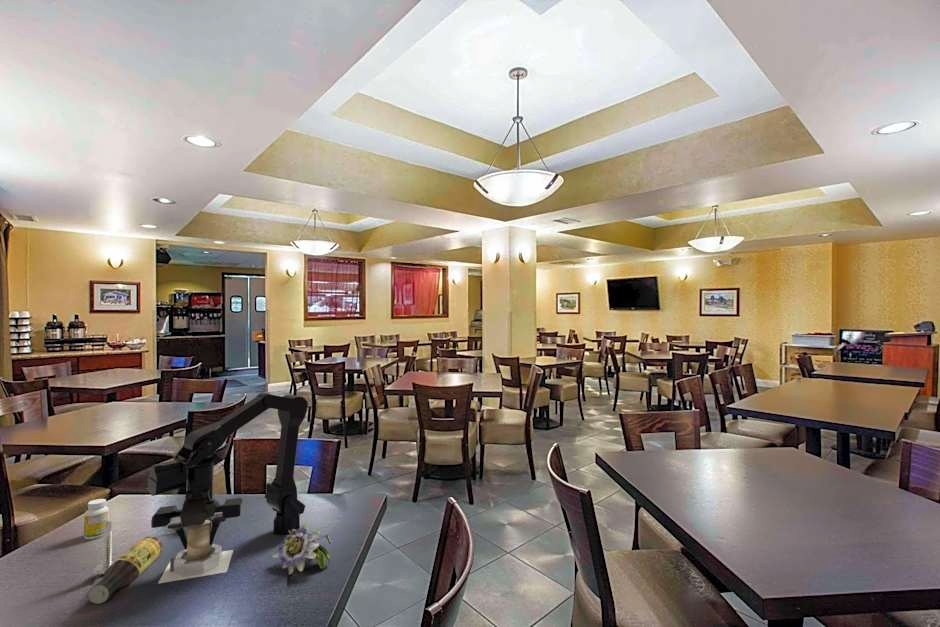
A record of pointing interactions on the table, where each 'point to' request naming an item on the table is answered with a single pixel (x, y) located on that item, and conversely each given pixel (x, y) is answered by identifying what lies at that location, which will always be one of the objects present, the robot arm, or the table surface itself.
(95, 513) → the supplement bottle
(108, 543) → the graduated cylinder
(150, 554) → the sauce bottle
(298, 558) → the passion flower
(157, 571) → the table surface
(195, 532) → the maple peg
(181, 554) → the white faceted ring
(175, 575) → the base plate
